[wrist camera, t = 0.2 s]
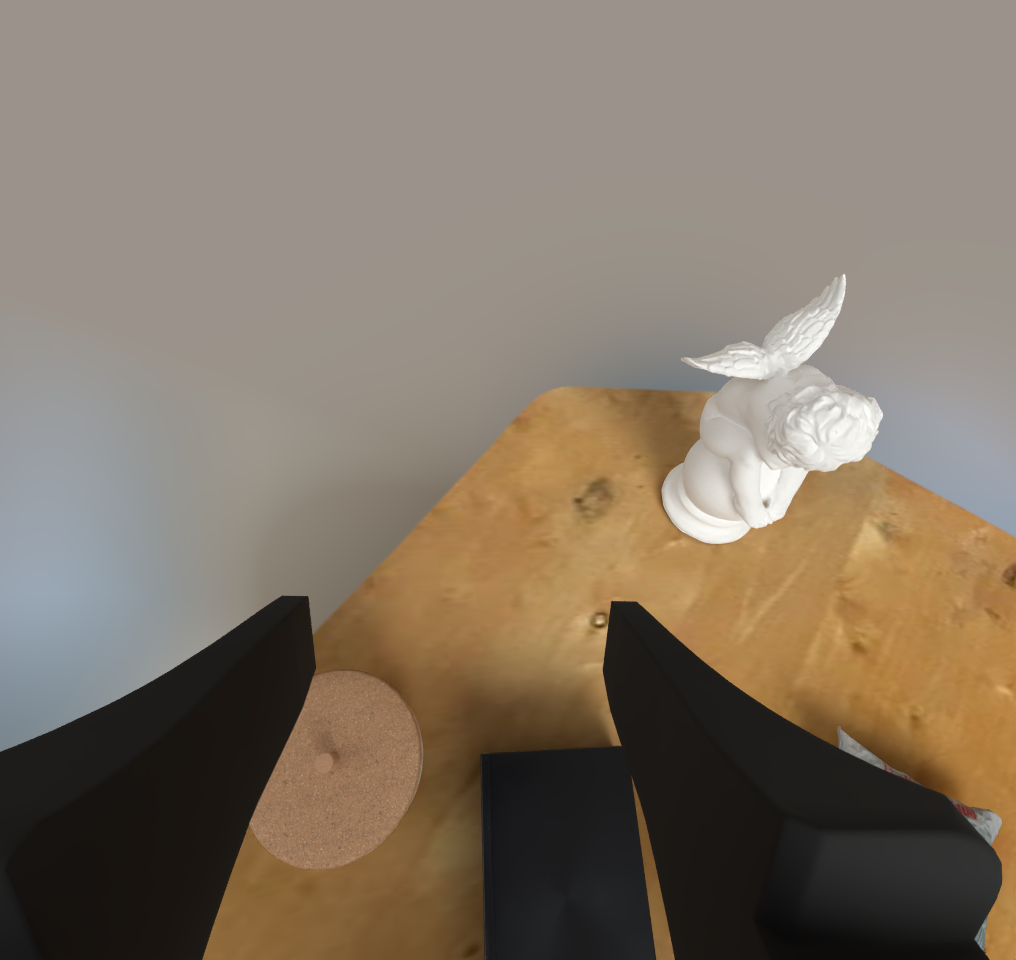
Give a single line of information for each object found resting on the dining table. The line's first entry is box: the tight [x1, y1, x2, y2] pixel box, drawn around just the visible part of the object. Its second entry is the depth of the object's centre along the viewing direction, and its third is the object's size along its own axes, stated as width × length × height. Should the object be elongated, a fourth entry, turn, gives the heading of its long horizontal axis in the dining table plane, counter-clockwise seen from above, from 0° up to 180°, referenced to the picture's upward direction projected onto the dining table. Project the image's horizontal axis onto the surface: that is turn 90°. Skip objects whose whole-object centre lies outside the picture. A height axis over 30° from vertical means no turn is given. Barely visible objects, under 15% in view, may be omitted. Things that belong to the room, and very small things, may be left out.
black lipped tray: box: [480, 746, 656, 960], centre depth 33 cm, size 16×10×6 cm, turn 3°
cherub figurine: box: [661, 274, 883, 544], centre depth 40 cm, size 12×12×22 cm
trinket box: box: [249, 670, 423, 870], centre depth 34 cm, size 11×11×9 cm
